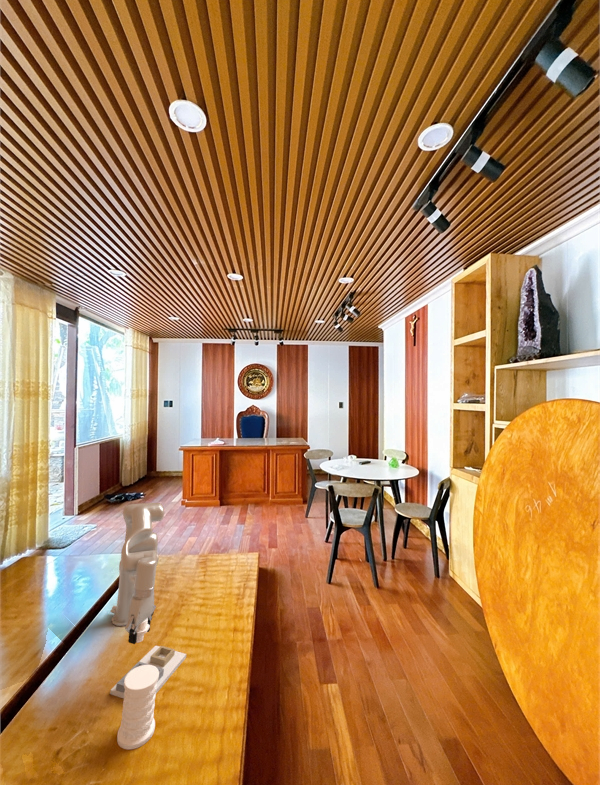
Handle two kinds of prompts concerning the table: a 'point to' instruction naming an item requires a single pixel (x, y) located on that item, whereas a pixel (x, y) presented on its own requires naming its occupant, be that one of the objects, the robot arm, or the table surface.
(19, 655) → the table surface
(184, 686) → the table surface
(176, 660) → the board
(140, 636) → the pipe fitting
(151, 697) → the white carved column
